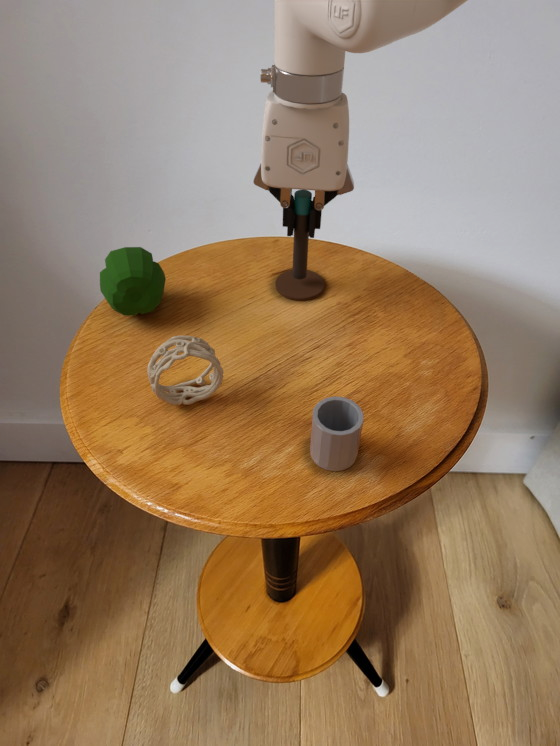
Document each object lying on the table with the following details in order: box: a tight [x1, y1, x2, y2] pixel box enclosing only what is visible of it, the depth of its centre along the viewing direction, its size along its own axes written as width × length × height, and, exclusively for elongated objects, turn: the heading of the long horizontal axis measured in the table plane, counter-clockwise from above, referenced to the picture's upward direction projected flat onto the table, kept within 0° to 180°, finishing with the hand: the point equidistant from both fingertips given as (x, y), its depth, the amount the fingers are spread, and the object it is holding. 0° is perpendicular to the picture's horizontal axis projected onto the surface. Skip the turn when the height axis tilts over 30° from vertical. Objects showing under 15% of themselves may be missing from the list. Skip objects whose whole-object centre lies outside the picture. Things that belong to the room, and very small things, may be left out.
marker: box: [292, 189, 313, 279], centre depth 75 cm, size 2×2×12 cm
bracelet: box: [146, 335, 224, 406], centre depth 63 cm, size 4×8×8 cm, turn 112°
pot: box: [309, 396, 365, 472], centre depth 58 cm, size 5×5×6 cm
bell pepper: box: [99, 246, 167, 317], centre depth 75 cm, size 8×8×10 cm
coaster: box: [274, 269, 325, 302], centre depth 81 cm, size 7×7×1 cm
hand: (301, 230), depth 75 cm, fingers closed on marker, 2 cm apart
